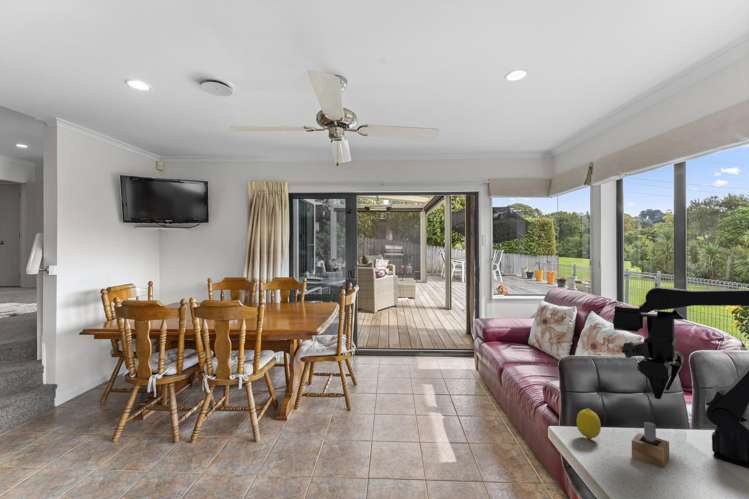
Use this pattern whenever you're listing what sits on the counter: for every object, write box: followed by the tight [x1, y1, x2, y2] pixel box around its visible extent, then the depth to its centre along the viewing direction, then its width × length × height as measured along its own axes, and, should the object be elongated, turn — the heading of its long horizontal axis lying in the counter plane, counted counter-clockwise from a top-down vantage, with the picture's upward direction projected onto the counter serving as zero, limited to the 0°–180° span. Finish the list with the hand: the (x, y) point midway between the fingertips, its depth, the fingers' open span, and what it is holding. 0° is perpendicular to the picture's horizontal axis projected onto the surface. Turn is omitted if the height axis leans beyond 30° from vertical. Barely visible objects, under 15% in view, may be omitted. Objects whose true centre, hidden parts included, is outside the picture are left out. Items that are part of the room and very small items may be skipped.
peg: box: [643, 421, 657, 446], centre depth 86 cm, size 2×2×8 cm
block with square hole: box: [631, 432, 670, 469], centre depth 86 cm, size 6×6×4 cm
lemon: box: [576, 408, 602, 440], centre depth 95 cm, size 6×6×8 cm
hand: (662, 394), depth 94 cm, fingers open, 9 cm apart
